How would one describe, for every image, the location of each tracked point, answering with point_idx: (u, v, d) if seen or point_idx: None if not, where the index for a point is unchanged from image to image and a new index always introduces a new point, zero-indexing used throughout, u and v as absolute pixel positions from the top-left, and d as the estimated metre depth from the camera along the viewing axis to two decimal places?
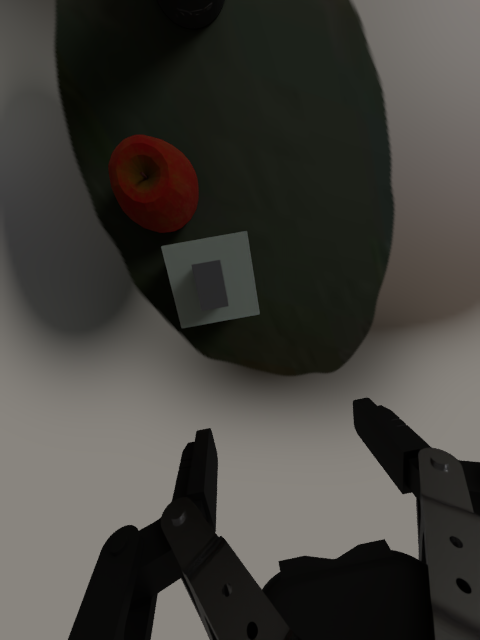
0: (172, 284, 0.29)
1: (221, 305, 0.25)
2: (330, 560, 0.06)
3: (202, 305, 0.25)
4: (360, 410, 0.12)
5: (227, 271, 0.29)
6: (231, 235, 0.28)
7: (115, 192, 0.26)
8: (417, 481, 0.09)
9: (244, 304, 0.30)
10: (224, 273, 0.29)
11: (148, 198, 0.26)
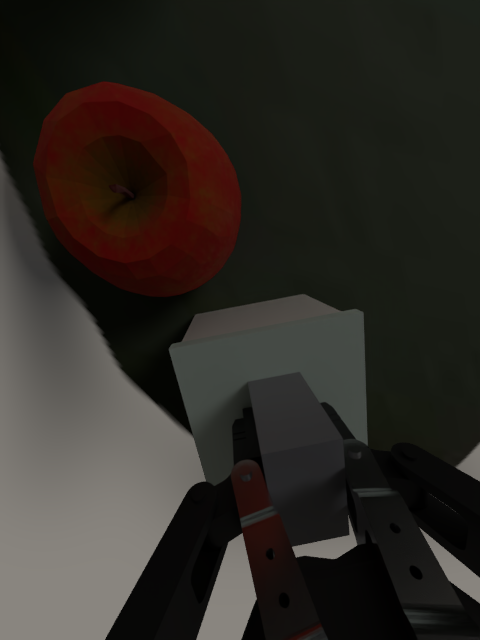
0: (193, 421, 0.14)
1: (331, 534, 0.10)
2: (330, 560, 0.06)
3: None
4: None
5: None
6: (328, 322, 0.12)
7: (55, 233, 0.11)
8: None
9: None
10: None
11: (136, 251, 0.10)
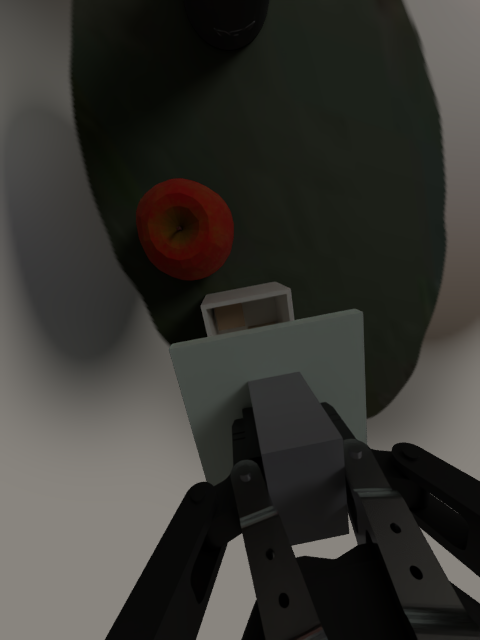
0: (193, 421, 0.14)
1: (331, 533, 0.10)
2: (330, 560, 0.06)
3: None
4: None
5: None
6: (327, 322, 0.12)
7: (144, 246, 0.23)
8: None
9: None
10: None
11: (184, 255, 0.22)
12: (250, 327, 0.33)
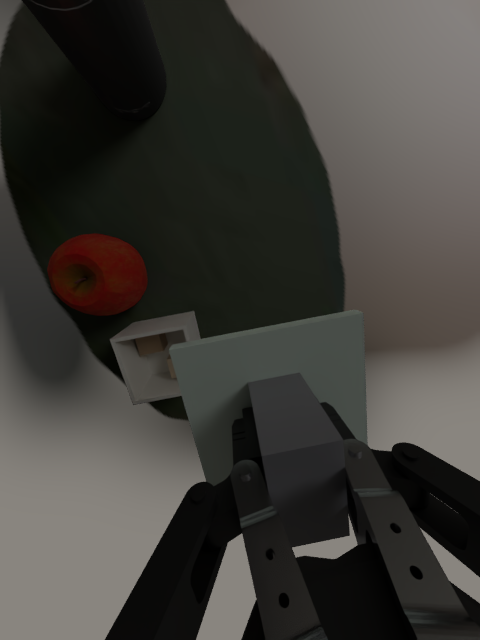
0: (193, 422, 0.14)
1: (331, 535, 0.10)
2: (330, 560, 0.06)
3: None
4: None
5: None
6: (328, 323, 0.12)
7: (55, 293, 0.27)
8: None
9: None
10: None
11: (86, 301, 0.27)
12: None
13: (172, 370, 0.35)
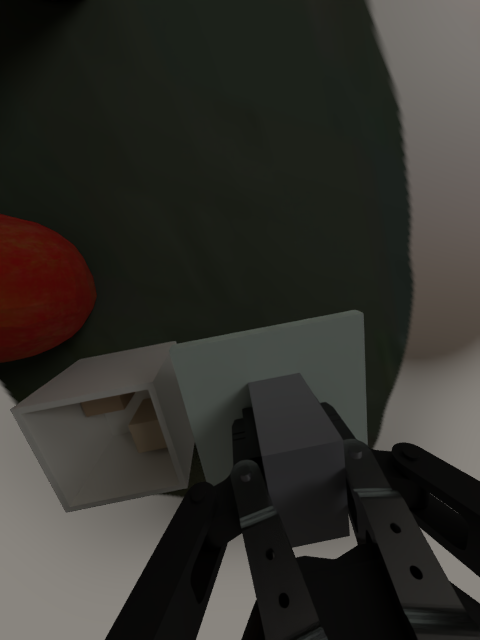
0: (193, 422, 0.14)
1: (331, 535, 0.10)
2: (330, 560, 0.06)
3: None
4: None
5: None
6: (328, 323, 0.12)
7: None
8: None
9: None
10: None
11: None
12: (143, 402, 0.24)
13: (139, 441, 0.22)
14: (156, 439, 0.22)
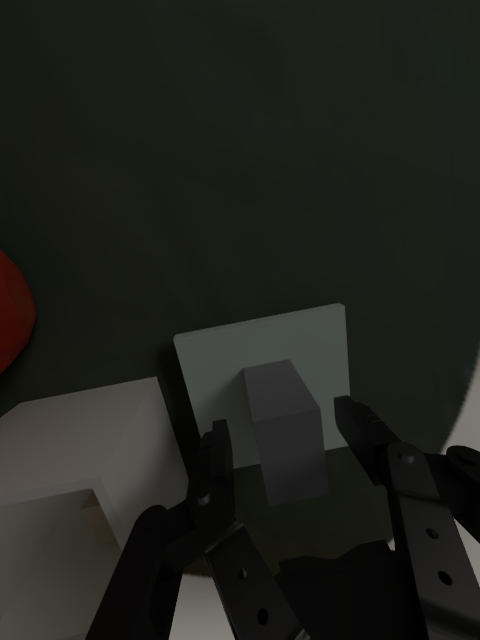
0: (195, 404, 0.15)
1: (313, 494, 0.11)
2: (330, 560, 0.06)
3: (271, 496, 0.11)
4: (339, 407, 0.12)
5: (300, 378, 0.15)
6: (313, 315, 0.14)
7: None
8: (386, 473, 0.09)
9: (326, 430, 0.16)
10: None
11: None
12: None
13: (99, 529, 0.15)
14: None
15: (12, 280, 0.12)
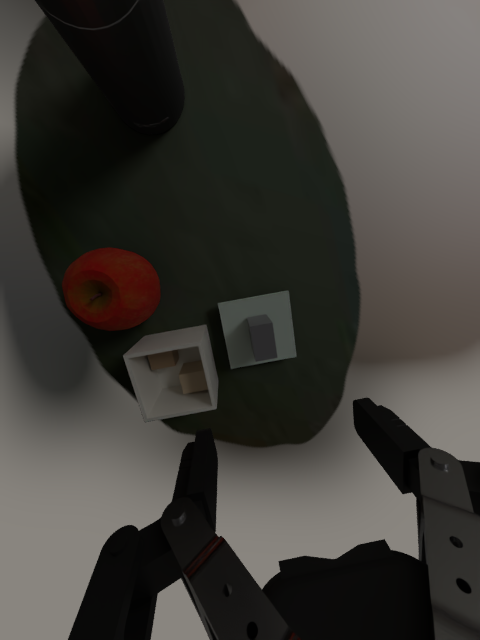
0: (225, 333, 0.35)
1: (271, 357, 0.31)
2: (330, 560, 0.06)
3: (256, 357, 0.31)
4: (360, 410, 0.12)
5: None
6: (275, 295, 0.34)
7: (69, 309, 0.27)
8: (417, 481, 0.09)
9: (284, 349, 0.36)
10: None
11: (100, 318, 0.26)
12: (184, 364, 0.37)
13: (184, 386, 0.35)
14: (195, 384, 0.35)
15: None
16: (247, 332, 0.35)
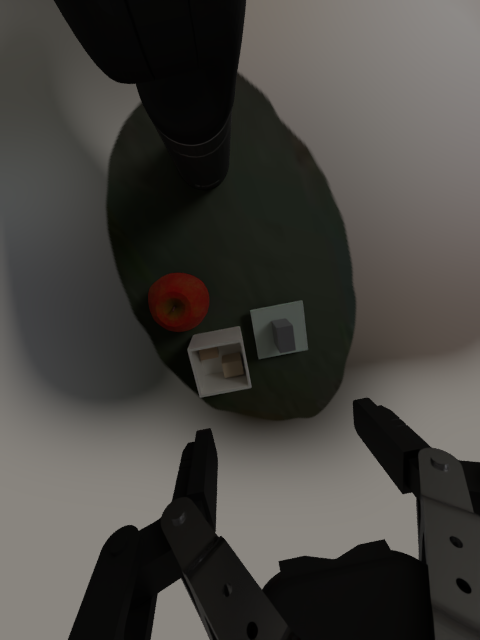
0: (255, 333, 0.47)
1: (291, 349, 0.43)
2: (330, 560, 0.06)
3: (281, 350, 0.43)
4: (360, 410, 0.12)
5: None
6: (293, 304, 0.46)
7: (153, 317, 0.39)
8: (417, 481, 0.09)
9: (298, 344, 0.48)
10: None
11: (177, 323, 0.38)
12: (223, 356, 0.49)
13: (225, 371, 0.47)
14: (233, 370, 0.47)
15: None
16: (271, 331, 0.47)
